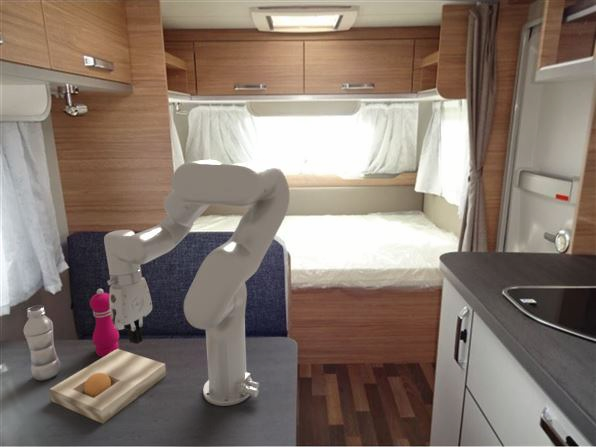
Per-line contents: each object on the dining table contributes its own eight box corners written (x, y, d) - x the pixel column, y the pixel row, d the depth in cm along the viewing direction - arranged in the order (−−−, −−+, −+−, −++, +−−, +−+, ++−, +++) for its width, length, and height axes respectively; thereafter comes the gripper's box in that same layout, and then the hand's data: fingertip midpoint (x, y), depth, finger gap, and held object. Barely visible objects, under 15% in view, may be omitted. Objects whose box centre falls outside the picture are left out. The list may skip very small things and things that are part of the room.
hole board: (166, 375, 108) (165, 363, 107) (102, 423, 90) (101, 410, 89) (118, 359, 115) (117, 348, 114) (51, 401, 98) (49, 388, 97)
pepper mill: (110, 358, 116) (102, 294, 111) (88, 355, 117) (79, 292, 113) (125, 345, 123) (118, 285, 118) (105, 343, 124) (97, 283, 119)
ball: (109, 366, 102) (89, 369, 97) (120, 384, 100) (99, 388, 94) (96, 382, 103) (75, 386, 98) (106, 401, 101) (85, 406, 95)
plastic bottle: (66, 372, 109) (56, 305, 105) (42, 386, 103) (30, 316, 99) (51, 366, 112) (40, 301, 107) (27, 380, 106) (14, 311, 101)
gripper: (112, 289, 95) (123, 358, 99) (158, 269, 108) (166, 331, 112) (91, 286, 98) (102, 353, 102) (138, 267, 111) (146, 327, 115)
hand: (136, 341), depth 107 cm, fingers closed
